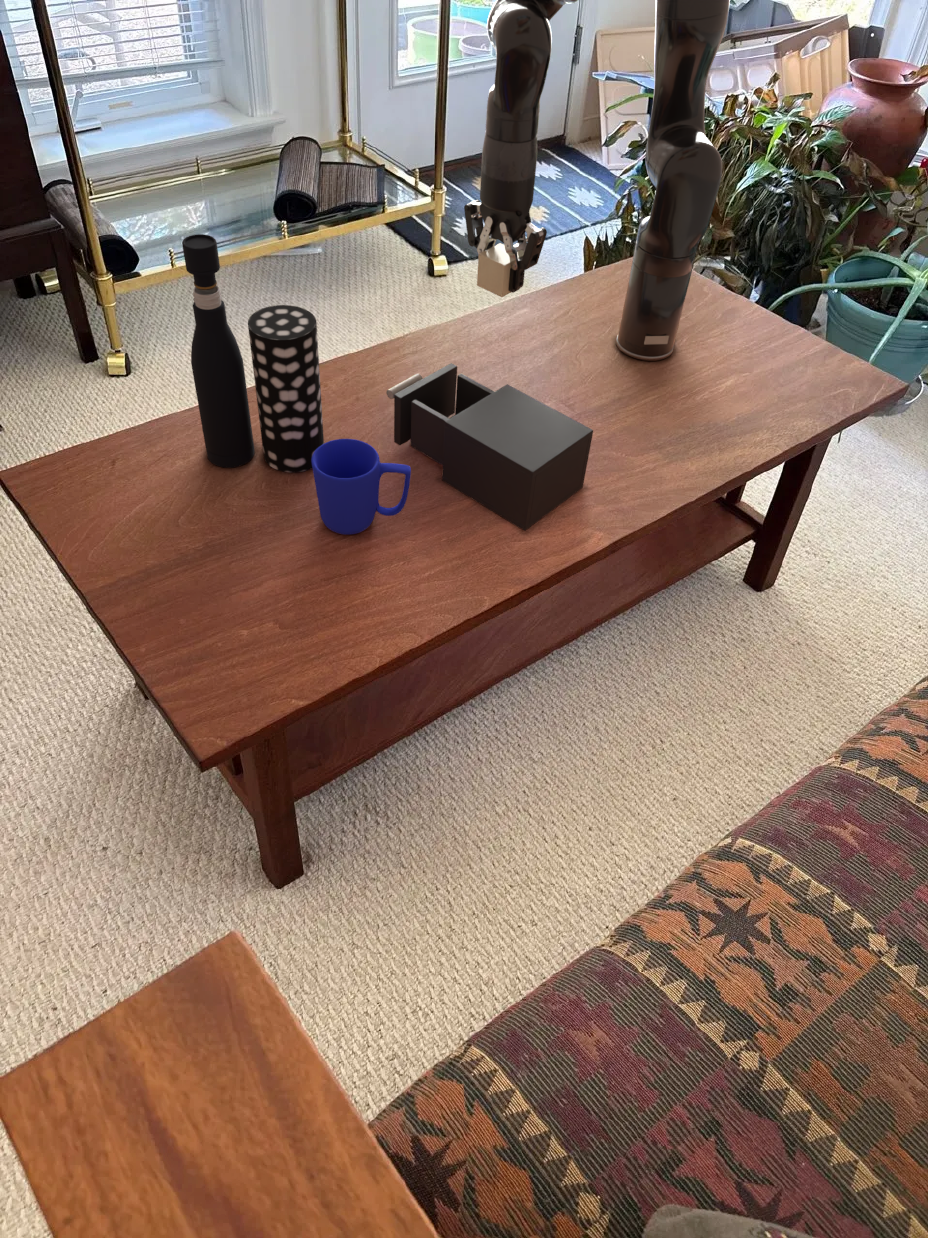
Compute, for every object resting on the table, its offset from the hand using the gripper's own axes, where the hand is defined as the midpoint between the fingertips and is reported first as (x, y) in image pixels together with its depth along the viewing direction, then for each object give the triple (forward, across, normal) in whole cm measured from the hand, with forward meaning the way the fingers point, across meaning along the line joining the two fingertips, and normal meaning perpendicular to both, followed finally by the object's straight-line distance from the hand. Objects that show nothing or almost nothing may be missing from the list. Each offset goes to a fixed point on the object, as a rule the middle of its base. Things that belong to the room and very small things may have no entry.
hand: (500, 282), depth 143 cm
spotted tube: (+12, +2, +40) cm, 42 cm away
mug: (+12, -14, +43) cm, 47 cm away
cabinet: (+12, -23, +23) cm, 35 cm away
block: (0, 0, 0) cm, 0 cm away
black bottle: (+12, +8, +46) cm, 48 cm away
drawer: (+11, -11, +23) cm, 28 cm away
